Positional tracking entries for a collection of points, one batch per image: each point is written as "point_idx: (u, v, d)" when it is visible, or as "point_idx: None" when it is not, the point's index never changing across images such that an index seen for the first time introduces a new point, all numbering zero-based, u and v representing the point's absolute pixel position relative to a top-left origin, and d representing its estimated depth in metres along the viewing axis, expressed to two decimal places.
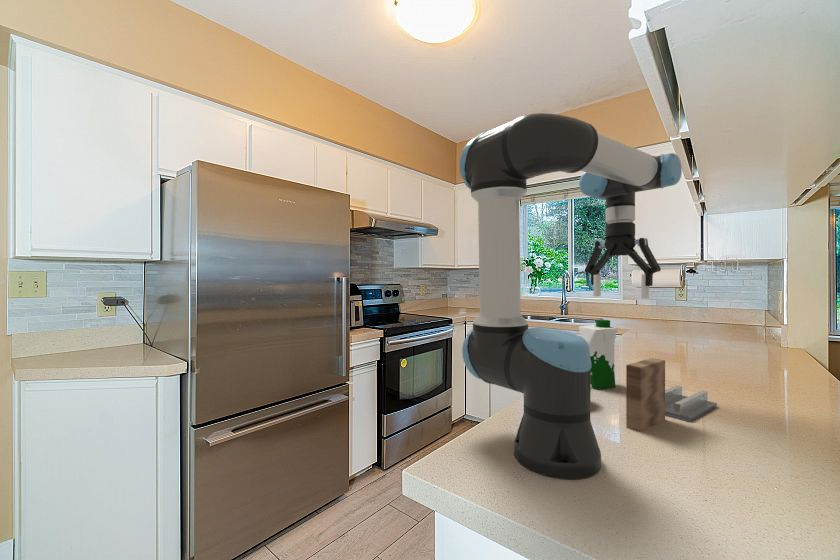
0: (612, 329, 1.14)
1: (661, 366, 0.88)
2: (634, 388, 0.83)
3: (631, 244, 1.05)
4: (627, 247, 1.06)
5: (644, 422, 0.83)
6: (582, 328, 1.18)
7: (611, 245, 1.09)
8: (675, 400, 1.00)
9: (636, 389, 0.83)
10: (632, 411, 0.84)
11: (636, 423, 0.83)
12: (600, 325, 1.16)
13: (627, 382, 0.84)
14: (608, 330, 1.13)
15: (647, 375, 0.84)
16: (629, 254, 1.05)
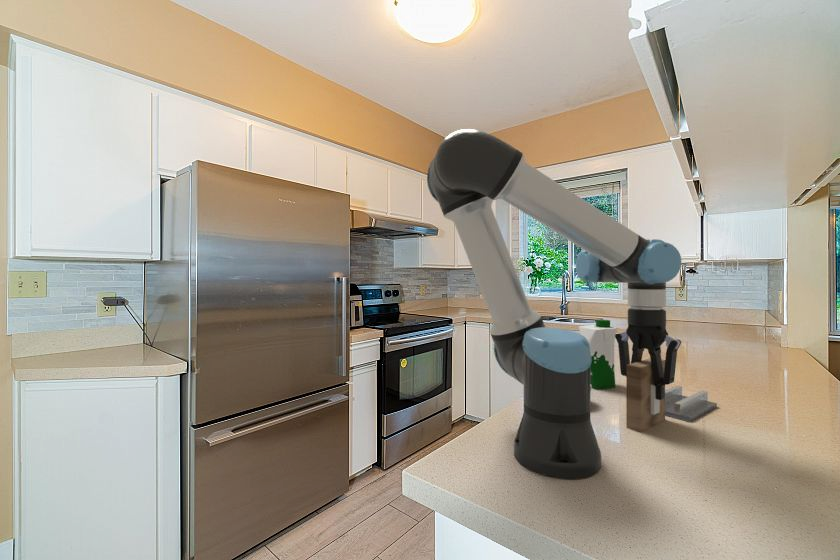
0: (612, 329, 1.14)
1: None
2: (634, 388, 0.83)
3: (659, 339, 0.83)
4: (653, 344, 0.84)
5: (644, 422, 0.83)
6: (582, 328, 1.18)
7: (635, 336, 0.87)
8: (675, 400, 1.00)
9: (636, 389, 0.83)
10: (632, 411, 0.84)
11: (636, 423, 0.83)
12: (600, 325, 1.16)
13: (627, 382, 0.84)
14: (608, 330, 1.13)
15: (647, 374, 0.84)
16: (650, 353, 0.84)
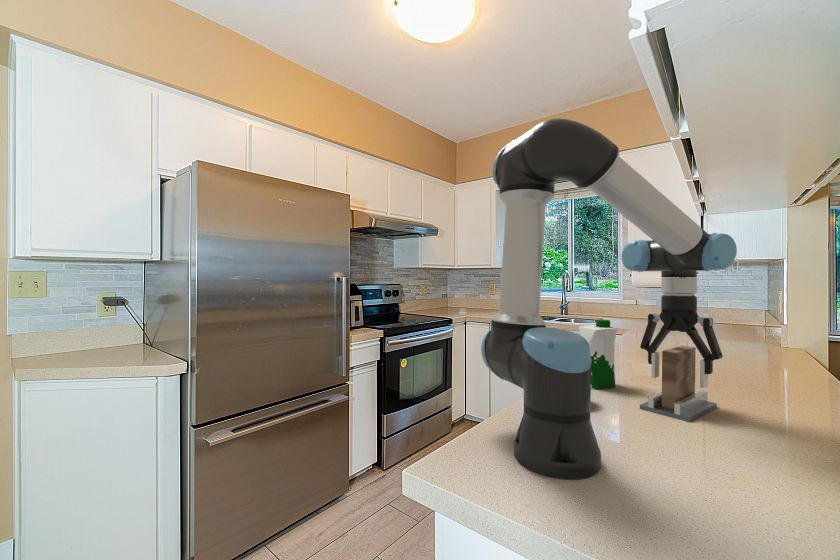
0: (612, 329, 1.14)
1: (692, 352, 0.98)
2: (670, 371, 0.93)
3: (693, 321, 0.93)
4: (688, 325, 0.94)
5: None
6: (582, 328, 1.18)
7: (669, 319, 0.97)
8: None
9: (672, 372, 0.93)
10: (667, 392, 0.94)
11: (671, 402, 0.93)
12: (600, 325, 1.16)
13: (663, 366, 0.94)
14: (608, 330, 1.13)
15: (681, 360, 0.94)
16: (689, 333, 0.94)
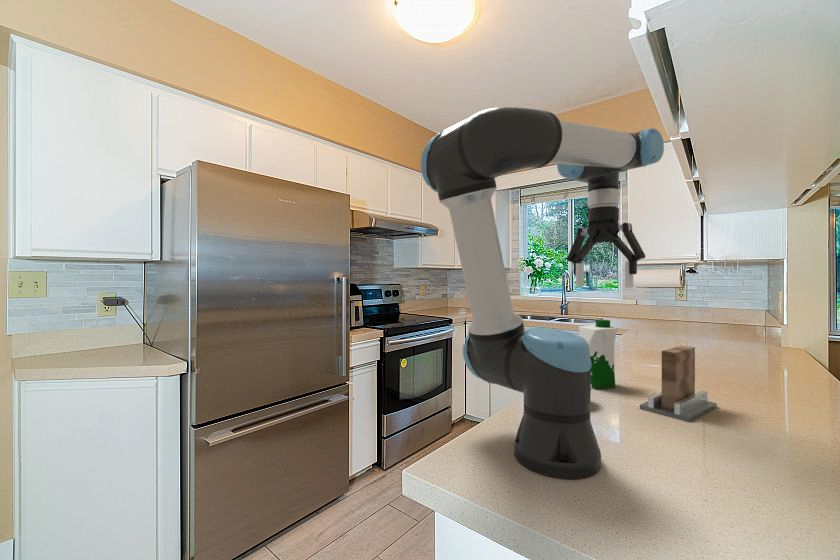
0: (612, 329, 1.14)
1: (691, 352, 0.98)
2: (669, 371, 0.93)
3: (614, 230, 0.98)
4: (610, 233, 0.99)
5: None
6: (582, 328, 1.18)
7: (593, 231, 1.02)
8: None
9: (671, 372, 0.93)
10: (667, 392, 0.94)
11: (671, 402, 0.93)
12: (600, 325, 1.16)
13: (662, 366, 0.94)
14: (608, 330, 1.13)
15: (681, 359, 0.94)
16: (612, 240, 0.98)
